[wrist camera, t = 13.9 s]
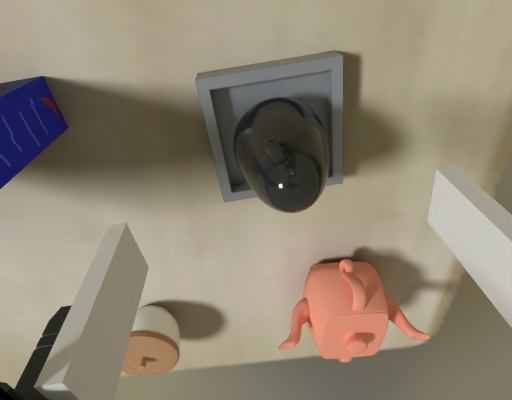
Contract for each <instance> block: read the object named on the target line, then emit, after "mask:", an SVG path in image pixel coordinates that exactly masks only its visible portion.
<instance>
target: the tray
mask: <svg viewBox="0 0 512 400" xmlns="http://www.w3.org/2000/svg"><path fill="white" fill-rule="evenodd" d="M195 82H196V86H197V90H198V94H199V98H200V103H201V107H202V111H203V115H204V119H205V124H206V128H207V132H208V136H209V140H210V145H211V149H212V153H213V157H214V161H215V166H216V170H217V174H218V178H219V183H220V187H221V191H222V195H223V199H224V202H229V201H235V200H241V199H247V198H254V197H257V196H256V195H255V193H254V192H253V191H252V190H251V188H250V187H249V186H248V184H247V183H246V181H245V180H244V178H243V176H242V174H241V172H240V170H239V167H238V165H237V162H236V159H235V156H234V150H233V138H234V133H235V129H236V127H237V124H238V122H239V121H240V119H241V118H242V116H243V115H244V114H245V113H246V112H247V111H248V110H249V109H250V108H251V107H253V106H254V105H256V104H257V103H259V102H261V101H264V100H267V99H270V98H276V97H287V98H293V99H296V100H299V101H301V102H303V103H305V104H306V105H308V106H309V107H310V108H311V109H312V110H313V111H314V112H315V113H316V114H317V116H318V117H319V119H320V120H321V122H322V124H323V127H324V129H325V133H326V137H327V141H328V147H329V172H328V178H327V182H326V185H325V186H329V185H335V184H342V183H343V55H342V54H340V53H338V52H337V51H329V52H323V53H317V54H311V55H305V56H299V57H293V58H287V59H281V60H275V61H269V62H263V63H257V64H251V65H245V66H239V67H233V68H227V69H222V70H216V71H210V72H204V73H198V74H197V76H196V79H195Z"/></svg>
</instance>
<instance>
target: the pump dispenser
mask: <svg viewBox="0 0 512 400" xmlns="http://www.w3.org/2000/svg"><path fill="white" fill-rule="evenodd" d="M233 150H234V156H235V159H236V162H237V165H238V167H239V170H240V172H241V174H242V176H243V178H244V180H245V181H246V183H247V184H248V186H249V187H250V188H251V190H252V191H253V192H254V193H255V195H256V196H257V197H258V198H259V199H260V200H261V201H262V202H264V203H265V204H266V205H268V206H269V207H271V208H273V209H275V210H277V211H281V212H285V213H297V212H301V211H304V210H306V209H308V208H309V207H311V206H312V205H313V204H314V203H315V202H316V201H317V200H318V198H319V197H320V196H321V194H322V192H323V190H324V188H325V185H326V182H327V178H328V172H329V147H328V141H327V137H326V133H325V129H324V127H323V124H322V122H321V120H320V119H319V117H318V116H317V114H316V113H315V112H314V111H313V110H312V109H311V108H310V107H309V106H308V105H306V104H305V103H303V102H301V101H299V100H296V99H293V98H287V97H276V98H270V99H267V100H264V101H261V102H259V103H257V104H256V105H254V106H253V107H251V108H250V109H249V110H248V111H247V112H246V113H245V114H244V115H243V116H242V118H241V119H240V121H239V122H238V124H237V127H236V129H235V133H234V138H233Z"/></svg>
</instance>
